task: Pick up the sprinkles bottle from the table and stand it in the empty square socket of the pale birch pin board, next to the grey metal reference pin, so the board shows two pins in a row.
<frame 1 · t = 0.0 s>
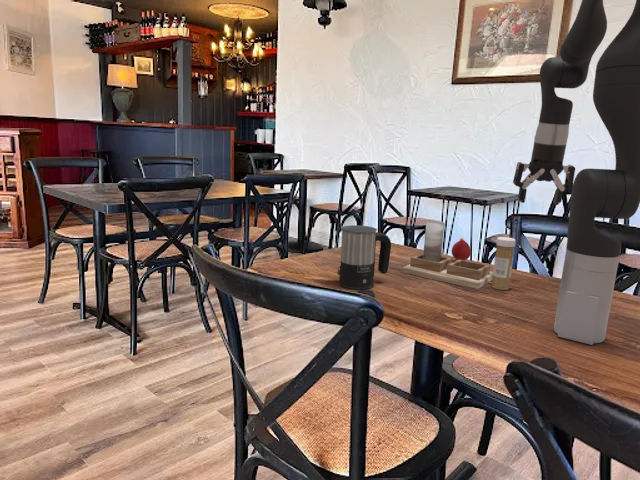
hand: (538, 203, 129), 22 cm above the table, tool pointing down, fingers open, 8 cm apart
downlight: (362, 263, 148), on the table
pin board: (448, 275, 139), on the table
milk frother: (353, 280, 129), on the table
sprinkles bottle: (499, 288, 129), on the table
onion: (459, 263, 154), on the table
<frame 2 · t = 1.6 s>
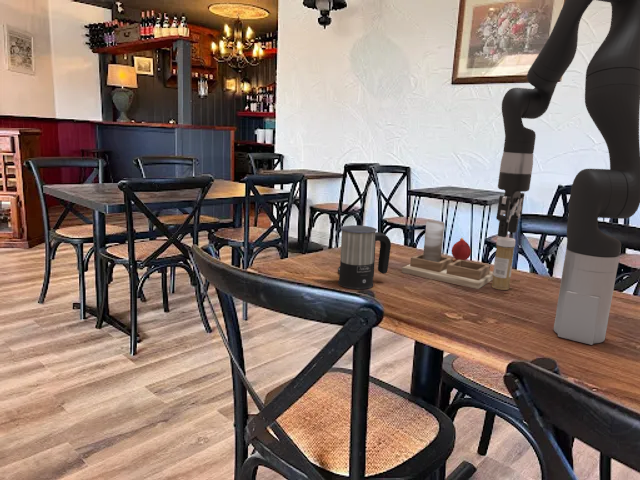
hand: (507, 234, 126), 14 cm above the table, tool pointing down, fingers open, 8 cm apart
nothing on the table moved.
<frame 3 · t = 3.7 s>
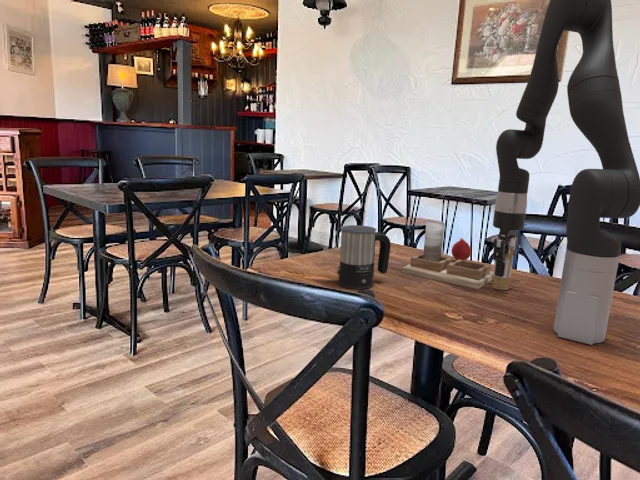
hand: (501, 273, 128), 4 cm above the table, tool pointing down, fingers closed on sprinkles bottle, 4 cm apart
sprinkles bottle: (499, 288, 129), on the table, touching gripper
everything else where it was.
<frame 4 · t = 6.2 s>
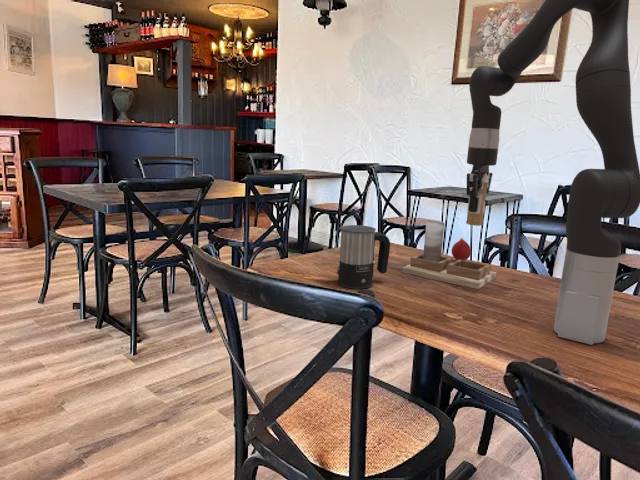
hand: (475, 210, 132), 19 cm above the table, tool pointing down, fingers closed on sprinkles bottle, 4 cm apart
sprinkles bottle: (474, 225, 132), point 15 cm above the table, touching gripper
everything else where it was.
when the fingers open (7 cm above the table, at t = 8.8 s): sprinkles bottle drops 2 cm, resting on pin board.
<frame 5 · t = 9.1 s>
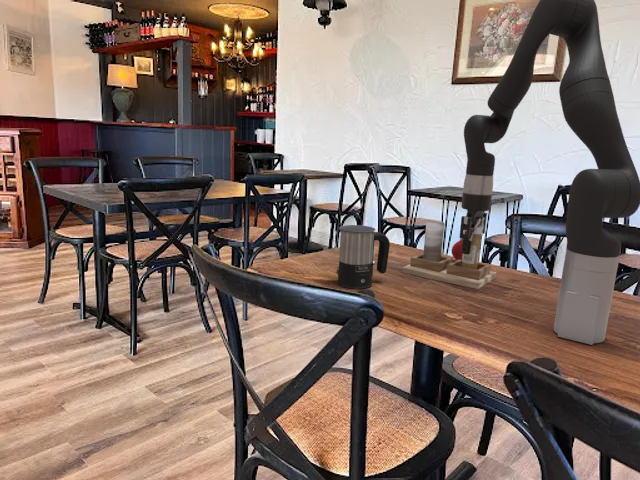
hand: (470, 251, 134), 8 cm above the table, tool pointing down, fingers open, 7 cm apart
sprinkles bottle: (468, 274, 135), point 1 cm above the table, touching pin board
everything else where it was.
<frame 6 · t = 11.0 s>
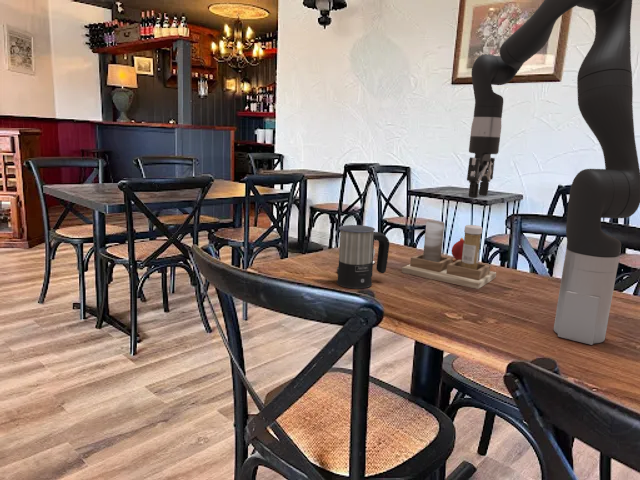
hand: (478, 196, 132), 23 cm above the table, tool pointing down, fingers open, 8 cm apart
nothing on the table moved.
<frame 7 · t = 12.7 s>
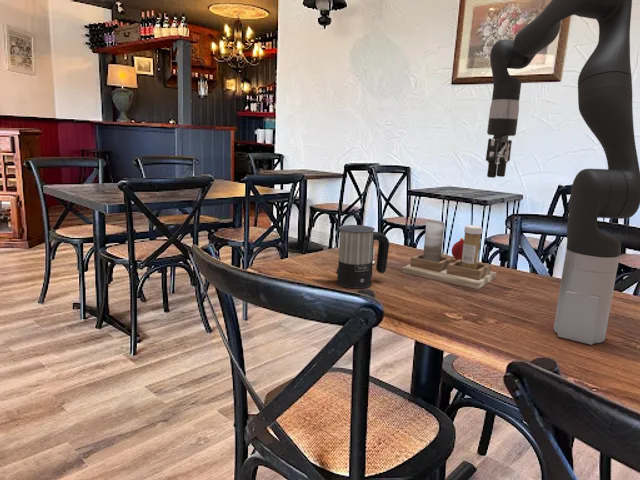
hand: (496, 176, 137), 28 cm above the table, tool pointing down, fingers open, 8 cm apart
nothing on the table moved.
at the end: sprinkles bottle 0.1 cm from the target spot on the pin board, point 1.4 cm above the pin board's base; sprinkles bottle tilted 1°; the gripper is holding nothing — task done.
